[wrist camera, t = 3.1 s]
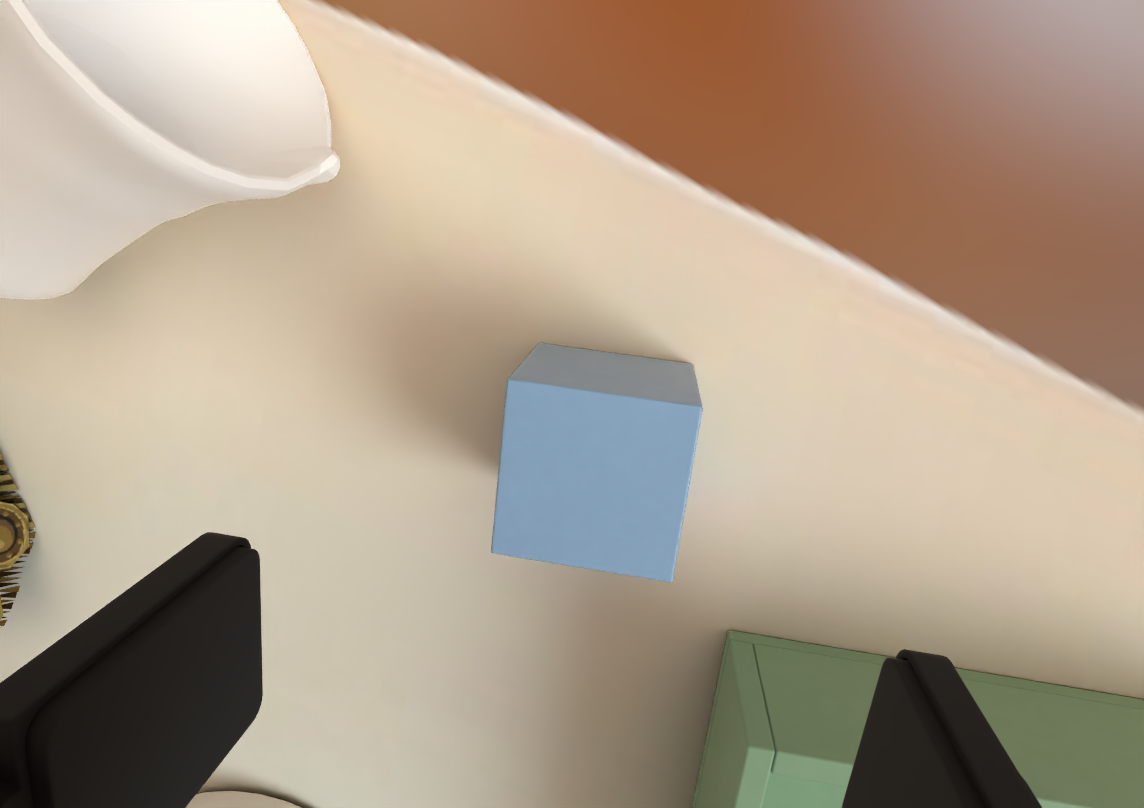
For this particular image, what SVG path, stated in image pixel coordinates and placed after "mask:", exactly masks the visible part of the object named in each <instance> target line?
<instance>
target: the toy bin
mask: <svg viewBox="0 0 1144 808" xmlns="http://www.w3.org/2000/svg"><path fill="white" fill-rule="evenodd" d="M886 658H893V657H887V656H881V655H875V654H869V653H863V652H857V651H851V650H845V649H839V648H834V647H828V646H822V645H816V644H810V643H804V642H798V641H792V640H786V639H780V638H774V637H768V636H762V635H756V634H750V633H744V632H738V631H732V630H729V631H728V633H727V638H726V643H725V648H724V653H723V658H722V662H721V667H720V672H719V677H718V682H717V687H716V692H715V697H714V701H713V706H712V711H711V716H710V721H709V726H708V731H707V735H706V740H705V745H704V750H703V755H702V760H701V765H700V769H699V774H698V779H697V784H696V789H695V794H694V799H693V804H692V808H842V804H843V800H844V797H845V793H846V790H847V786H848V783H849V779H850V776H851V772H852V769H853V765H854V762H855V758H856V755H857V751H858V748H859V744H860V741H861V737H862V734H863V730H864V727H865V723H866V720H867V717H868V713H869V710H870V706H871V703H872V699H873V696H874V692H875V689H876V685H877V682H878V678H879V675H880V671H881V668H882V665H883V662H884V661H885V659H886ZM895 659H896V658H895ZM955 669H956V671H957V672H958V674H959V675H960V677H961V679H962V680H963V682H964V684H965V685H966V687H967V689H968V690H969V692H970V693H971V695H972V697H973V698H974V700H975V702H976V703H977V705H978V706H979V708H980V710H981V711H982V713H983V715H984V716H985V718H986V720H987V721H988V723H989V724H990V726H991V728H992V729H993V731H994V733H995V734H996V736H997V737H998V739H999V741H1000V742H1001V744H1002V746H1003V747H1004V749H1005V751H1006V752H1007V754H1008V755H1009V757H1010V759H1011V760H1012V762H1013V764H1014V765H1015V767H1016V768H1017V770H1018V772H1019V773H1020V775H1021V776H1022V777H1023V779H1024V780H1025V781H1026V782H1027V784H1028V785H1029V787H1030V789H1031V790H1032V792H1033V793H1034V795H1035V797H1036V798H1037V800H1038V802H1039V803H1040V805H1041V806H1042V808H1144V700H1143V699H1137V698H1131V697H1125V696H1119V695H1113V694H1107V693H1101V692H1095V691H1089V690H1084V689H1078V688H1072V687H1066V686H1060V685H1054V684H1048V683H1042V682H1036V681H1030V680H1024V679H1018V678H1012V677H1006V676H1000V675H994V674H988V673H982V672H976V671H970V670H964V669H959V668H955Z"/></svg>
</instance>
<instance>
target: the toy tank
mask: <svg viewBox="0 0 1144 808" xmlns="http://www.w3.org/2000/svg"><path fill="white" fill-rule="evenodd" d="M0 465H1V466H0V470H8V468H7V466H6V465H5V464H4V462H3V458H2V456H1V455H0ZM3 473H7V472H0V474H3ZM12 480H13V479H12V477H11V475H10V474H8V475H0V481H2V482H0V485H2V486H0V501H2V500H6V499H10V498H14V497H19V496H2V495H6V494H10V493H14V492H2V491H10V490H17V487H16V486H15V484H14V483H13V481H12ZM25 508H26V506H25V504H24V503H23V502H22V500H21V498H19V499H15V500H11V501H7V502H0V582H4V581H8V580H13V579H18V577H4V576H8V575H13V574H17V573H22V572H4V571H8V570H13V569H18V568H23V567H11V566H12V565H13V564H16V563H20V562H25V561H17V559H18V558H21V557H26V556H21V555H22V554H29V552H30V549H32V545H33V542H32V543H29V541H32V540H29V538H35V532H32V533H29V531H30V530H29V528H34V524H33V522H32V521H31V519H30V517H31V516H30V515H29V513H28V512H27V510H26V509H25ZM13 584H18V583H0V587H4V586H8V585H13ZM19 587H20V586H15V587H11V588H6V589H1V590H0V592H11V593H6V594H2V595H0V619H1V618H6V617H3V613H6V612H10V611H3V609H11V608H12V605H13V603H8V604H3V605H2V603H3V602H8V601H13V600H1V597H10V598H16V594H17V592H18V591H19ZM6 621H7V620H2V621H0V626H4V625H5V623H6Z"/></svg>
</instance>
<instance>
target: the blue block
mask: <svg viewBox="0 0 1144 808" xmlns="http://www.w3.org/2000/svg"><path fill="white" fill-rule="evenodd" d="M702 410H703V408H702V403H701V398H700V394H699V389H698V384H697V380H696V375H695V371H694V366H693V364H690V363H683V362H676V361H668V360H661V359H654V358H647V357H639V356H632V355H625V354H618V353H611V352H603V351H596V350H589V349H582V348H574V347H567V346H560V345H553V344H545V343H538V345H537V346H536V347H535V348H534V349H533V350H532V351H531V353H530V354H529V355H528V356H527V357H526V358H525V360H524V361H523V362H522V363H521V364H520V365H519V366H518V368H517V369H516V370H515V371H514V372H513V373H512V375H511V376H510V377H509V378H508V379H507V385H506V396H505V407H504V417H503V428H502V439H501V450H500V461H499V472H498V482H497V493H496V504H495V515H494V526H493V536H492V547H491V552H492V553H494V554H500V555H507V556H513V557H519V558H525V559H531V560H537V561H543V562H549V563H555V564H562V565H568V566H574V567H580V568H586V569H592V570H598V571H604V572H610V573H616V574H623V575H629V576H635V577H641V578H647V579H653V580H659V581H665V582H672V580H673V575H674V569H675V563H676V558H677V552H678V546H679V541H680V535H681V529H682V523H683V518H684V512H685V506H686V501H687V495H688V489H689V484H690V478H691V472H692V467H693V461H694V455H695V450H696V444H697V438H698V432H699V427H700V421H701V415H702Z"/></svg>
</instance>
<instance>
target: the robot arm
mask: <svg viewBox="0 0 1144 808" xmlns="http://www.w3.org/2000/svg"><path fill="white" fill-rule="evenodd" d="M262 693H263V692H262V645H261V597H260V558H259V554H258V552H257V551H256V550H255V549H251V545H250V543H249V541H248V540H247V539H245V538H242V537H236V536H230V535H224V534H218V533H212V532H207V533H205V534H203V535H201V536H200V537H199V538H197V539H196V540H195V541H193V542H192V543H190V544H189V545H188V546H186V547H185V548H184V549H182V550H181V551H180V552H178V553H177V554H176V555H174V556H173V557H171V558H170V559H169V560H167V561H166V562H165V563H163V564H162V565H161V566H159V567H158V568H156V569H155V570H154V571H152V572H151V573H150V574H148V575H147V576H146V577H144V578H143V579H141V580H140V581H139V582H137V583H136V584H135V585H133V586H132V587H131V588H129V589H128V590H126V591H125V592H124V593H122V594H121V595H120V596H118V597H117V598H116V599H114V600H113V601H111V602H110V603H109V604H107V605H106V606H105V607H103V608H102V609H101V610H99V611H98V612H96V613H95V614H94V615H92V616H91V617H90V618H88V619H87V620H86V621H84V622H83V623H82V624H80V625H79V626H77V627H76V628H75V629H73V630H72V631H71V632H69V633H68V634H67V635H65V636H64V637H62V638H61V639H60V640H58V641H57V642H56V643H54V644H53V645H52V646H50V647H49V648H47V649H46V650H45V651H43V652H42V653H41V654H39V655H38V656H37V657H35V658H34V659H32V660H31V661H30V662H28V663H27V664H26V665H24V666H23V667H22V668H20V669H19V670H17V671H16V672H15V673H13V674H12V675H11V676H9V677H8V678H7V679H5V680H4V681H2V682H1V683H0V808H301V807H299V806H297V805H294V804H292V803H290V802H288V801H284V800H280V799H277V798H273V797H270V796H266V795H262V794H256V793H248V792H239V791H217V792H204V793H200V794H197V792H198V791H199V790H200V789H201V787H202V786H203V785H204V783H205V782H206V781H207V780H208V778H209V777H210V776H211V774H212V773H213V772H214V771H215V769H216V768H217V767H218V766H219V764H220V763H221V762H222V760H223V759H224V758H225V757H226V755H227V754H228V753H229V752H230V750H231V749H232V748H233V746H234V745H235V744H236V743H237V741H238V740H239V739H240V737H241V736H242V735H243V734H244V732H245V731H246V730H247V729H248V727H249V726H250V725H251V723H252V722H253V721H254V719H255V718H256V715H257V713H258V711H259V708H260V706H261V701H262ZM842 808H1042V806H1041V805H1040V803H1039V802H1038V800H1037V798H1036V797H1035V795H1034V793H1033V792H1032V790H1031V789H1030V787H1029V785H1028V784H1027V782H1026V781H1025V780H1024V779H1023V777H1022V776H1021V775H1020V773H1019V772H1018V770H1017V768H1016V767H1015V765H1014V764H1013V762H1012V760H1011V759H1010V757H1009V755H1008V754H1007V752H1006V751H1005V749H1004V747H1003V746H1002V744H1001V742H1000V741H999V739H998V737H997V736H996V734H995V733H994V731H993V729H992V728H991V726H990V724H989V723H988V721H987V720H986V718H985V716H984V715H983V713H982V711H981V710H980V708H979V706H978V705H977V703H976V702H975V700H974V698H973V697H972V695H971V693H970V692H969V690H968V689H967V687H966V685H965V684H964V682H963V680H962V679H961V677H960V675H959V674H958V672H957V671H956V669H955V667H954V666H953V664H952V662H951V661H950V660H949V659H948V658H947V657H944V656H940V655H934V654H928V653H922V652H916V651H911V650H905V649H904V650H902V651H900V652H899V654H898V655H897V657H896V659H895V658H886V659H885V661H884V662H883V665H882V668H881V671H880V675H879V678H878V682H877V685H876V689H875V692H874V696H873V699H872V703H871V706H870V710H869V713H868V717H867V720H866V723H865V727H864V730H863V734H862V737H861V741H860V744H859V748H858V751H857V755H856V758H855V762H854V765H853V769H852V772H851V776H850V779H849V783H848V786H847V790H846V793H845V797H844V800H843V804H842Z"/></svg>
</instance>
